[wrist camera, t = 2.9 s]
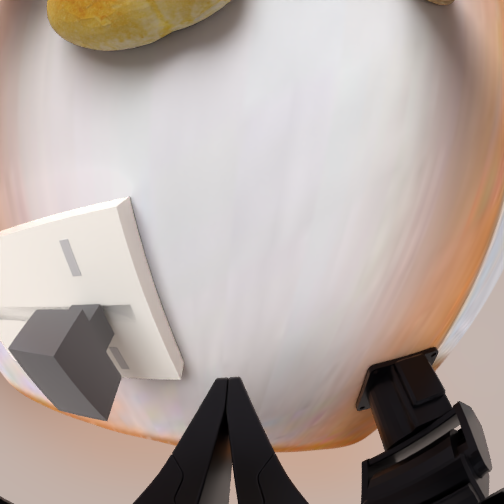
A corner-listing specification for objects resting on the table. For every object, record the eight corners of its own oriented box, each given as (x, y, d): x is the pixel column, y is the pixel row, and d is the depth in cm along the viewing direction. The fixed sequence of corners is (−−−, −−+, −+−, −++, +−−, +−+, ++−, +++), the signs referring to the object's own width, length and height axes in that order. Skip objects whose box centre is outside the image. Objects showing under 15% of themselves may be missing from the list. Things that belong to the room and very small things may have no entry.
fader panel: (184, 362, 16) (180, 379, 15) (21, 350, 17) (14, 361, 15) (129, 196, 11) (116, 206, 10) (-34, 243, 12) (-45, 252, 10)
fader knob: (131, 349, 13) (107, 421, 9) (88, 347, 13) (58, 409, 9) (100, 283, 11) (53, 356, 7) (55, 286, 11) (7, 348, 7)
